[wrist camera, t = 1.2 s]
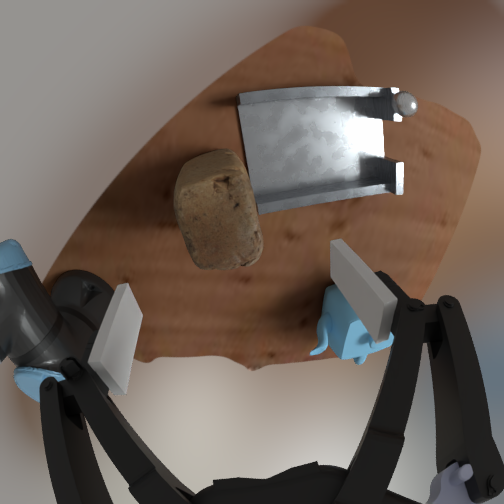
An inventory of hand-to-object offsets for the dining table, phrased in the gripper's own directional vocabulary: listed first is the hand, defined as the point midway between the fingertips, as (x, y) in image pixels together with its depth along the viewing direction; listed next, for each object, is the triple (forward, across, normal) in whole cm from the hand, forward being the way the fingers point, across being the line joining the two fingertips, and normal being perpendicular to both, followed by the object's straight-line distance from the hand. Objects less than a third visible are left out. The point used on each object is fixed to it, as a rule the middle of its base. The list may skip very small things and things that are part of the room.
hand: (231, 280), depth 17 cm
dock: (+26, +17, +4) cm, 32 cm away
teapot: (+26, +20, -28) cm, 43 cm away
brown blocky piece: (+26, 0, 0) cm, 27 cm away
